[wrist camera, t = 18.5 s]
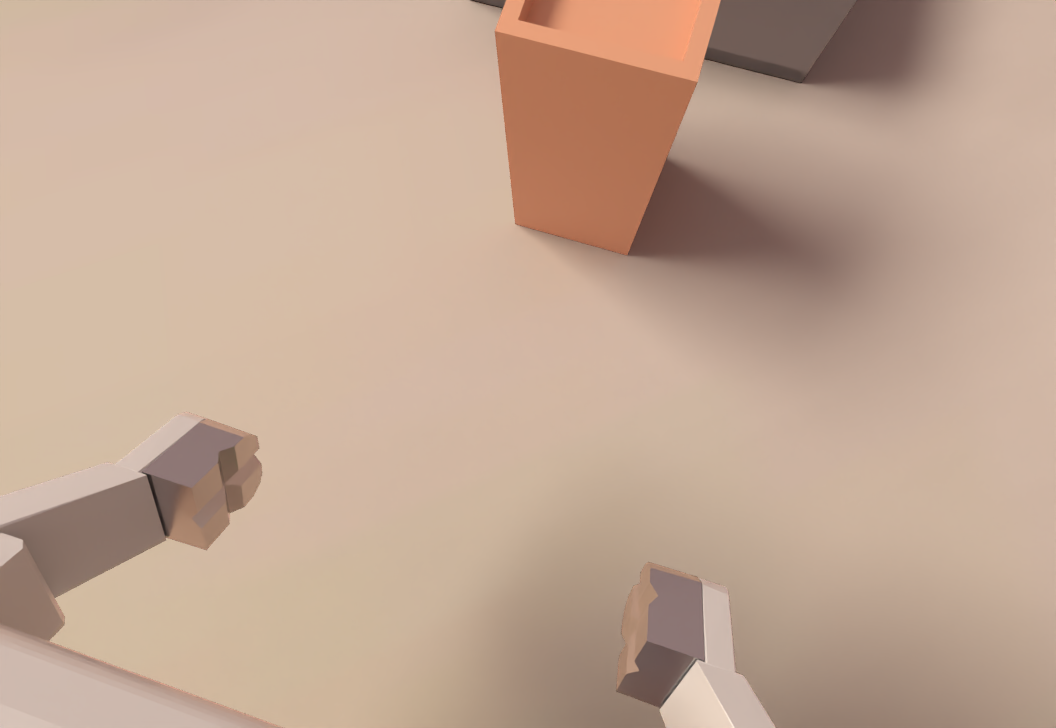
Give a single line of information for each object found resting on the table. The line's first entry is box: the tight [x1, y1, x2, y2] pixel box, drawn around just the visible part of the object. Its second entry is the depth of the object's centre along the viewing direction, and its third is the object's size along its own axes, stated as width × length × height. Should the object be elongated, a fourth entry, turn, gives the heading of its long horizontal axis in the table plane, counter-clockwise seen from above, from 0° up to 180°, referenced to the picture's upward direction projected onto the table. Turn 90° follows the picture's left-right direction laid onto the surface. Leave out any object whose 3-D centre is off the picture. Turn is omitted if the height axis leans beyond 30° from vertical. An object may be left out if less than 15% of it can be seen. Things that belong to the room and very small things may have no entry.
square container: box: [495, 0, 721, 255], centre depth 17 cm, size 4×4×10 cm
